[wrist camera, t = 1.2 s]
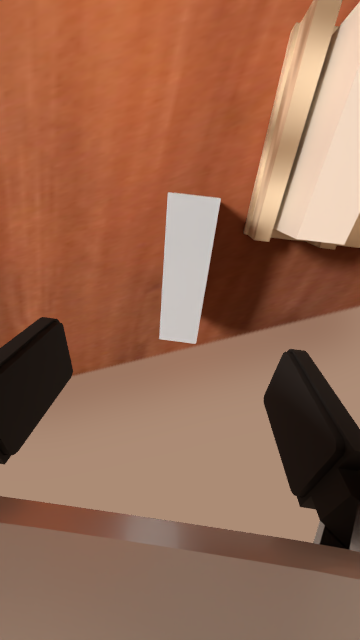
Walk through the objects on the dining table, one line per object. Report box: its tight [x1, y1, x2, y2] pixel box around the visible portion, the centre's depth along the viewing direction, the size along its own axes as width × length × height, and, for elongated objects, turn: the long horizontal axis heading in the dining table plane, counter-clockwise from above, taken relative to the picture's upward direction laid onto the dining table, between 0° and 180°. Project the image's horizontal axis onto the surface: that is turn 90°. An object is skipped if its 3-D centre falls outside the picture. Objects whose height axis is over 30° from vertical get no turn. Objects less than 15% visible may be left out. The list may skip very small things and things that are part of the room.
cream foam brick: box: [273, 2, 360, 245], centre depth 15 cm, size 12×4×7 cm, turn 174°
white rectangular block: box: [159, 192, 221, 344], centre depth 21 cm, size 12×4×9 cm, turn 174°
